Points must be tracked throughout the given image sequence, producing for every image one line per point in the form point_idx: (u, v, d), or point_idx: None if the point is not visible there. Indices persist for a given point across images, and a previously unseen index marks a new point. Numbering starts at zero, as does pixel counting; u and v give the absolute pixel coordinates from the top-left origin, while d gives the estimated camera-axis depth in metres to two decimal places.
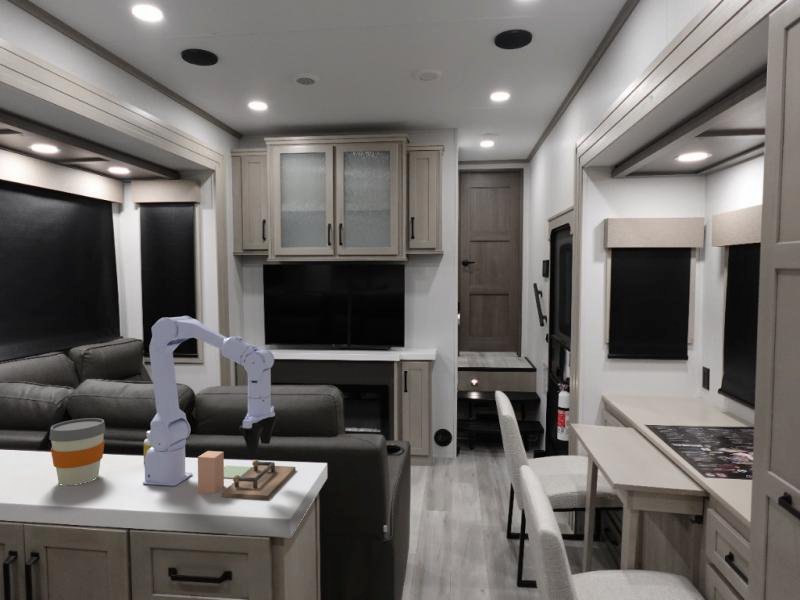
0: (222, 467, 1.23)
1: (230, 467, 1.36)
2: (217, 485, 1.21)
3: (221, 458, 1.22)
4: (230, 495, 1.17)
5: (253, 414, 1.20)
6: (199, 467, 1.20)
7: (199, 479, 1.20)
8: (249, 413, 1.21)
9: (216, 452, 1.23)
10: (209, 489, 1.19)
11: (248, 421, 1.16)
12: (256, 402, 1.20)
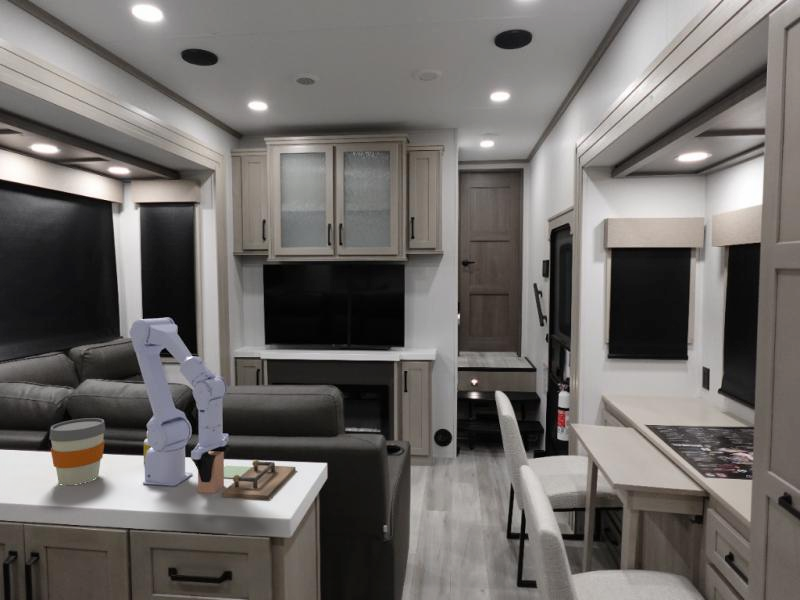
0: (222, 467, 1.23)
1: (230, 467, 1.36)
2: (217, 484, 1.21)
3: (221, 458, 1.22)
4: (230, 495, 1.17)
5: (203, 444, 1.19)
6: None
7: (199, 479, 1.20)
8: (200, 443, 1.19)
9: (216, 451, 1.23)
10: (209, 489, 1.19)
11: (196, 452, 1.14)
12: (206, 432, 1.19)
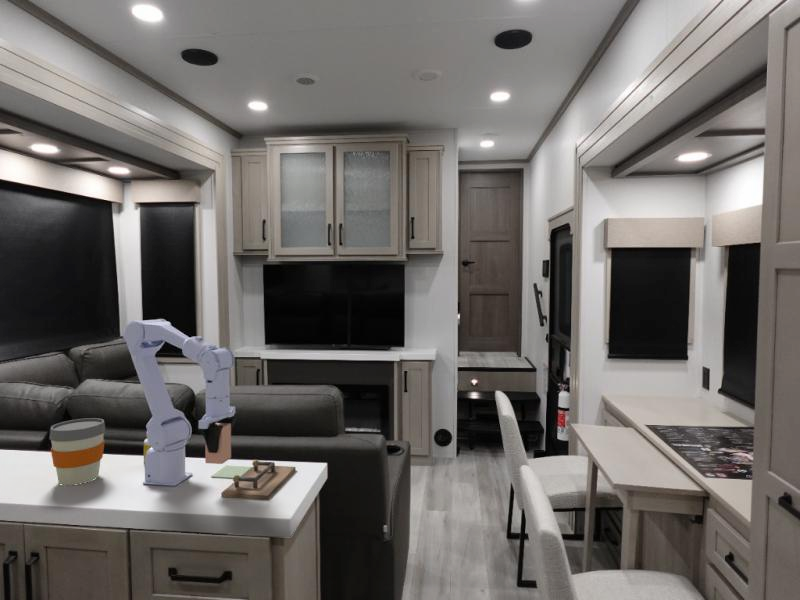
0: (229, 438, 1.22)
1: (230, 467, 1.36)
2: (224, 456, 1.20)
3: (228, 429, 1.22)
4: (230, 495, 1.17)
5: (211, 414, 1.18)
6: None
7: (206, 450, 1.19)
8: (207, 413, 1.19)
9: (223, 423, 1.23)
10: (216, 460, 1.19)
11: (204, 421, 1.14)
12: (213, 402, 1.18)
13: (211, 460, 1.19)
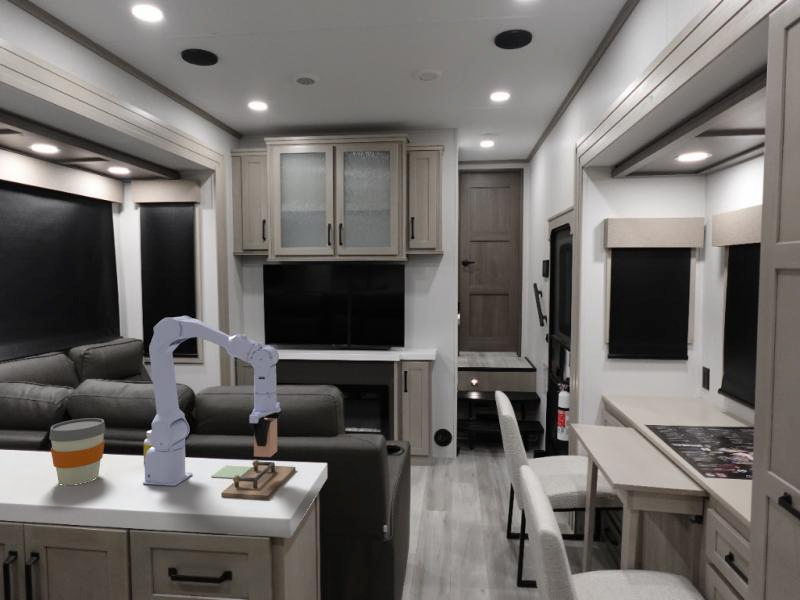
0: (276, 433, 1.27)
1: (230, 467, 1.36)
2: (272, 449, 1.25)
3: (275, 424, 1.27)
4: (230, 495, 1.17)
5: (259, 409, 1.23)
6: None
7: (255, 443, 1.24)
8: (255, 409, 1.24)
9: (270, 418, 1.28)
10: (264, 453, 1.24)
11: (255, 416, 1.19)
12: (262, 398, 1.23)
13: (259, 453, 1.24)
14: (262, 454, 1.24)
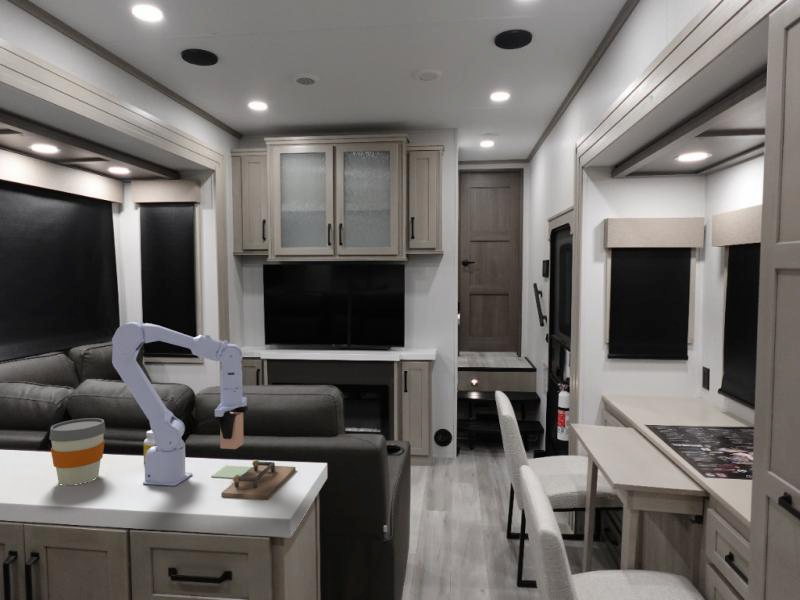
0: (242, 426, 1.34)
1: (230, 467, 1.36)
2: (238, 441, 1.31)
3: (241, 418, 1.33)
4: (230, 495, 1.17)
5: (225, 404, 1.29)
6: None
7: (221, 436, 1.30)
8: (222, 403, 1.30)
9: (236, 412, 1.34)
10: (230, 445, 1.30)
11: (219, 410, 1.25)
12: (228, 393, 1.29)
13: (225, 445, 1.30)
14: (228, 446, 1.30)
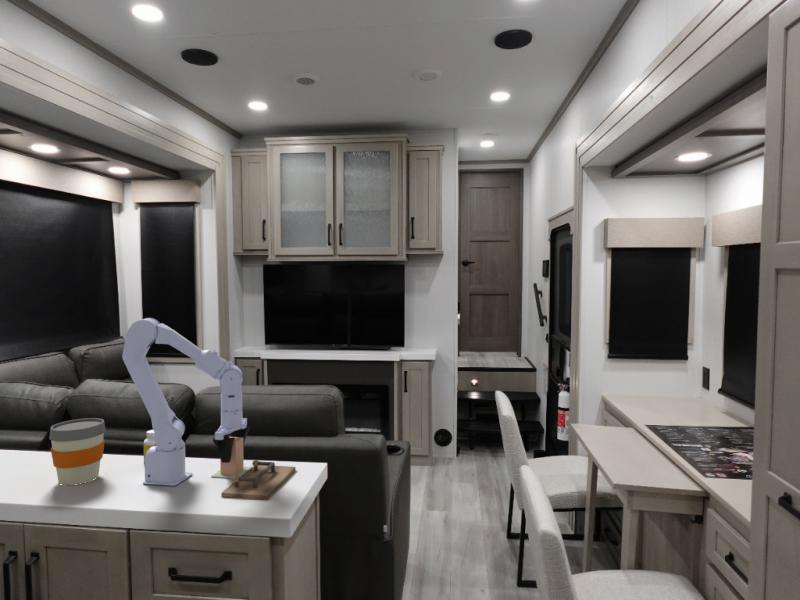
0: (242, 451, 1.34)
1: None
2: (238, 467, 1.31)
3: (241, 443, 1.33)
4: (230, 495, 1.17)
5: (225, 426, 1.30)
6: None
7: (221, 462, 1.31)
8: (222, 425, 1.30)
9: (236, 437, 1.34)
10: (230, 471, 1.30)
11: (220, 433, 1.25)
12: (228, 415, 1.29)
13: (226, 471, 1.30)
14: (228, 472, 1.30)
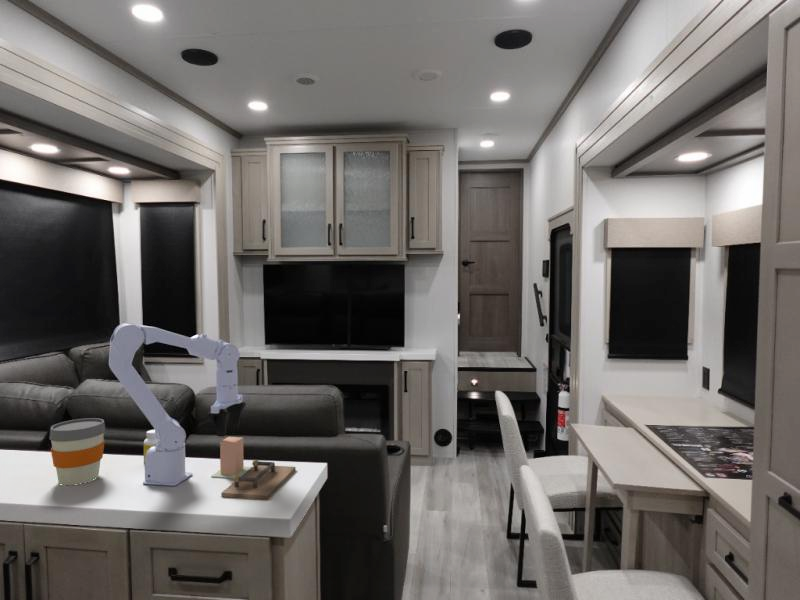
0: (242, 451, 1.34)
1: None
2: (238, 467, 1.31)
3: (241, 443, 1.33)
4: (230, 495, 1.17)
5: (221, 401, 1.33)
6: (221, 451, 1.30)
7: (221, 462, 1.31)
8: (218, 400, 1.34)
9: (236, 437, 1.34)
10: (230, 471, 1.30)
11: (215, 407, 1.28)
12: (224, 390, 1.33)
13: (226, 471, 1.30)
14: (228, 472, 1.30)
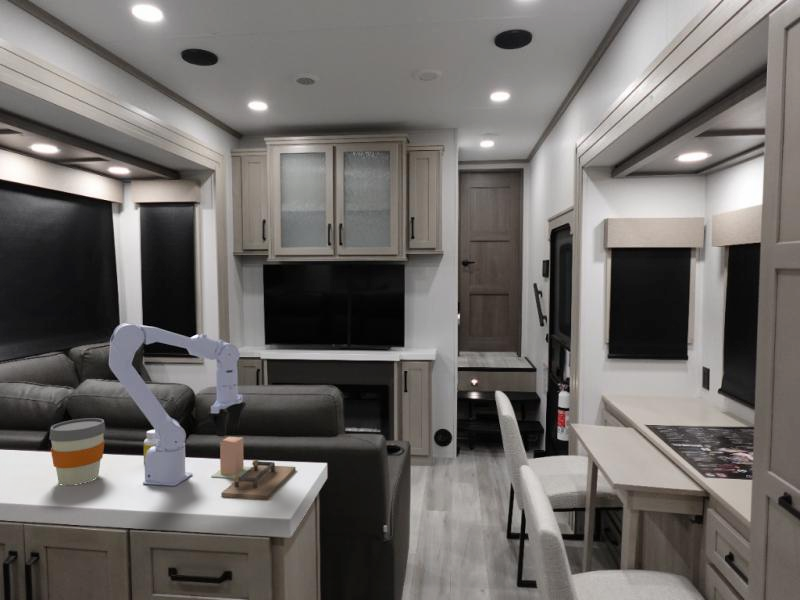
0: (242, 451, 1.34)
1: None
2: (238, 467, 1.31)
3: (241, 443, 1.33)
4: (230, 495, 1.17)
5: (221, 401, 1.33)
6: (221, 451, 1.30)
7: (221, 462, 1.31)
8: (218, 400, 1.34)
9: (236, 437, 1.34)
10: (230, 471, 1.30)
11: (215, 407, 1.28)
12: (224, 390, 1.33)
13: (226, 471, 1.30)
14: (228, 472, 1.30)
